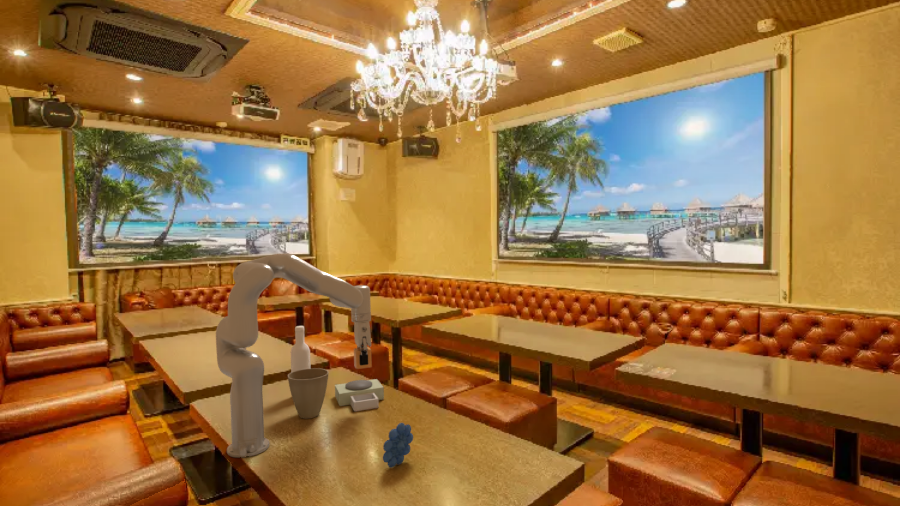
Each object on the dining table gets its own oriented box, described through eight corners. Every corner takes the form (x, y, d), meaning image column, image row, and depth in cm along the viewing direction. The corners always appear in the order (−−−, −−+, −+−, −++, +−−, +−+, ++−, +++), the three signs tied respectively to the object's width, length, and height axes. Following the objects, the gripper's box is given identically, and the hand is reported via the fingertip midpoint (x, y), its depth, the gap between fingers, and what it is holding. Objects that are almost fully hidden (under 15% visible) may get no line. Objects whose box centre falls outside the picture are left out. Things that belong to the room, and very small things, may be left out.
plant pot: (332, 418, 172) (330, 376, 171) (290, 425, 167) (288, 381, 166) (327, 405, 186) (326, 366, 185) (288, 411, 181) (286, 370, 180)
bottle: (291, 395, 198) (288, 325, 197) (310, 392, 202) (307, 324, 200) (293, 401, 191) (290, 329, 190) (312, 398, 194) (310, 327, 193)
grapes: (402, 452, 144) (402, 414, 144) (418, 459, 140) (417, 420, 140) (374, 467, 136) (373, 427, 135) (389, 474, 131) (388, 433, 131)
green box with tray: (389, 405, 184) (388, 391, 184) (343, 413, 177) (342, 398, 177) (377, 390, 203) (376, 377, 202) (335, 396, 196) (334, 383, 196)
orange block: (371, 367, 182) (371, 349, 181) (356, 369, 179) (355, 351, 179) (369, 364, 186) (368, 346, 185) (354, 366, 184) (353, 348, 183)
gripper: (375, 319, 175) (376, 367, 176) (366, 312, 191) (367, 356, 192) (355, 321, 172) (357, 370, 173) (347, 314, 188) (349, 358, 189)
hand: (362, 362), depth 183 cm, fingers closed on orange block, 4 cm apart
